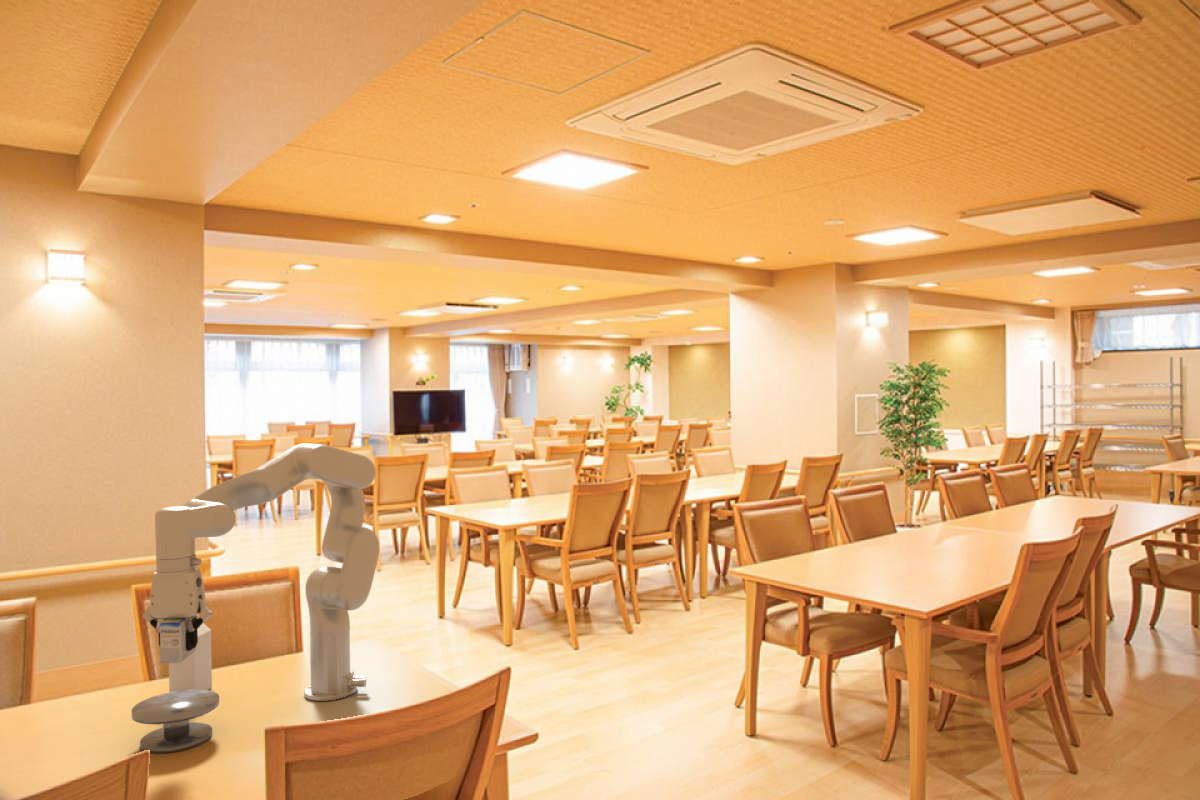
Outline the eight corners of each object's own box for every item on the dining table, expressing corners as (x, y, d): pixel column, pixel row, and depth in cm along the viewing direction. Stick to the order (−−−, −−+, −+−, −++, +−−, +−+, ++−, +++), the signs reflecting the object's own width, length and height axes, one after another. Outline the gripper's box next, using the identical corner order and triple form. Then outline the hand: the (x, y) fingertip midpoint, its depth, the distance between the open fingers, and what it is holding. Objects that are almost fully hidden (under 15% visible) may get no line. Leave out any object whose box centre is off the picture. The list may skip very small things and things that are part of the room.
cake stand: (234, 724, 186) (233, 689, 186) (194, 757, 169) (193, 718, 169) (161, 724, 187) (160, 689, 187) (114, 756, 170) (113, 718, 170)
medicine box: (175, 652, 179) (174, 612, 179) (196, 650, 179) (195, 611, 179) (160, 664, 171) (158, 623, 171) (182, 662, 171) (181, 621, 171)
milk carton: (212, 688, 210) (211, 614, 210) (195, 698, 203) (194, 622, 203) (186, 687, 211) (185, 614, 211) (169, 697, 204) (167, 621, 204)
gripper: (223, 560, 179) (226, 642, 179) (146, 561, 179) (149, 644, 179) (206, 567, 171) (209, 654, 171) (126, 569, 171) (129, 655, 171)
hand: (178, 648), depth 175 cm, fingers closed on medicine box, 4 cm apart
